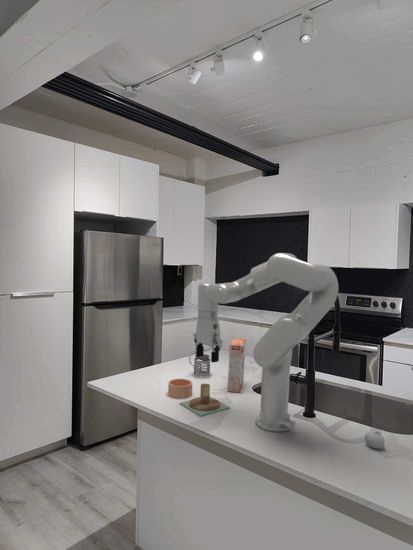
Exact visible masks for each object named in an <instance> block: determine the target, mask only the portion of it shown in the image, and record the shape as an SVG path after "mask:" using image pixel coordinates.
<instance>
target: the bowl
mask: <svg viewBox="0 0 413 550" xmlns="http://www.w3.org/2000/svg"><path fill="white" fill-rule="evenodd" d="M167 385H168V387H167V389H168V390H167V394H168V395H167V396H169V397H170V398H173V399H179V400H180V399H181V400H184V399H187V398H190V397H192V396H193V381H192V380H190V379H186V378H174V379H170V380H169V381H168V383H167Z"/></svg>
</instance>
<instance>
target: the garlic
mask: <svg viewBox="0 0 413 550" xmlns="http://www.w3.org/2000/svg"><path fill="white" fill-rule="evenodd" d="M381 434H382V432H381V431H379V430H378V431H369V432H367V433H365V435H364V441H365V444H366V446H369V447H370V448H373V449H376V450H381V449H383V448H384V446H385V439H384V438H385V437H384V436H383V435H381Z"/></svg>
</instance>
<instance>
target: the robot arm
mask: <svg viewBox="0 0 413 550" xmlns="http://www.w3.org/2000/svg"><path fill="white" fill-rule="evenodd" d="M279 283H285V284H288V285H289V286H290V285H291V286H293V287H296V288H298V289H301V290H303V291H306V292H309V293H308V295H306V297H304V299H303V300H301V302H300V303H299V304H298V305H297V306H296V308H294V310H292V312H290V313H288V314H286V315H283V316H282V317H280V318H278V319H277V320H276V321H275V322H274V323H273V324H272V325H271V327H270V328H269V329H268V330H267V331H266V332H265V333H264V334H263V336H262V337H261V338H259V340H258V342H256V343H255V346H254V348H253V354H252V355H253V360H254V361H255V363H256V364H257V365H258V366H259V367H261V368H262V369H261V385H260V386H261V390H260V410H259V411H260V415H257V416H256V417H255V424H256V426H258V427H259V428H260V429H263V430H266V431H268V432H277V433H278V432H279V433H280V432H286V431H288V430H293V429H294V427H295V426H296V421H294V420H291V414H290V413H289V391H290V390H289V389H290V376H291V375H290V374H291V373H290V372H291V364H292V358H293V349H294V347H296V346H297V344H298V343H300V342H302V341H303V340H305V339H307V338H306V337H308V335H309V334H310V333H311V331H312V330H314V328H315V327H316V326H317V325H318V323H319V322H320V321H321V320H322V319H323V318H324V316H325V315H326V314H327V313H329V311H330V310H331V308H332V307H333V306H334V304H335V302H336V301H337V298H338V295H339V282H338V278H337V275H336V274H335V272H334V270H333V269H332V268H330V267H329V266H327V265H325V264H312V263H309V262H306V261H304V260H301V259H298V258H297V256H296V255H294V254H292V253H287V252H277V253H274V254H273V255H271V256H270V257H269V258H268V260H267V261H266V262H265V261H264V262H262V263H261V264H258V265H257V266H254V267H251V269H250V273H248V274H247V275H245V276H243V277H241V278H239V279H237V280H235V281H232V282H224V283H223V282H222V283H214V282H202V283H201V282H200V283H199V284H198V286H197V287H198V288H197V319H196V320H197V321H196V331H195V333H193V335H192V336H193V339H194V345H195V347H196V349H195V353H196V354H195V356H196V357H201V356H203V354H205V353H204V346H202V345H203V344H204V345H208V346H209V347H211V349H210V350H211V352H210V353H211V355H210V363H217V362H219V361H220V360H219V359H220V356H219V355H220V351H221V348H222V346H223V343H224V342H223V340H222V338H221V326H220V321H219V319H218V304H221V305H222V304H223V305H225V304H229V303H236V302H238V301H240V300H242V299H243V300H244V299H245V298H248V297H249V296H252V295H254V294H257V293H258V292H261V291H263V290H266V289H267V288H270V287H272V286H274V285H277V284H279ZM196 357H195V358H196Z"/></svg>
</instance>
